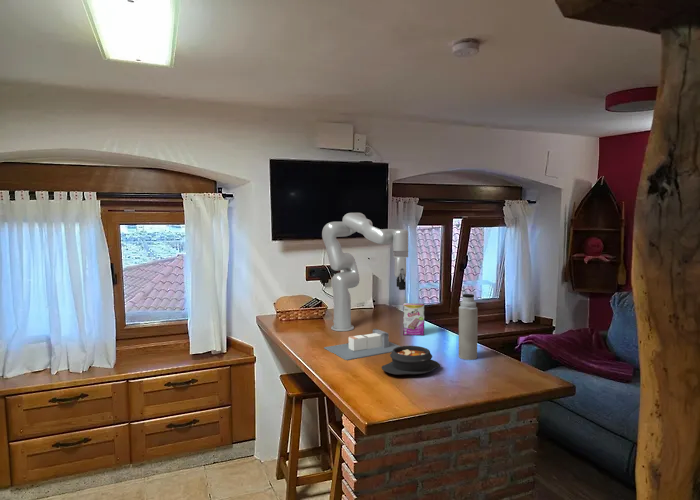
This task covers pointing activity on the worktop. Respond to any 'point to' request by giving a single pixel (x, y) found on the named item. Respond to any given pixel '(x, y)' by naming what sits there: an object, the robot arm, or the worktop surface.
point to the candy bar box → (413, 318)
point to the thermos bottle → (468, 328)
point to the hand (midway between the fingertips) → (400, 288)
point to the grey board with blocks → (375, 346)
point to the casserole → (410, 361)
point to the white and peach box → (357, 342)
